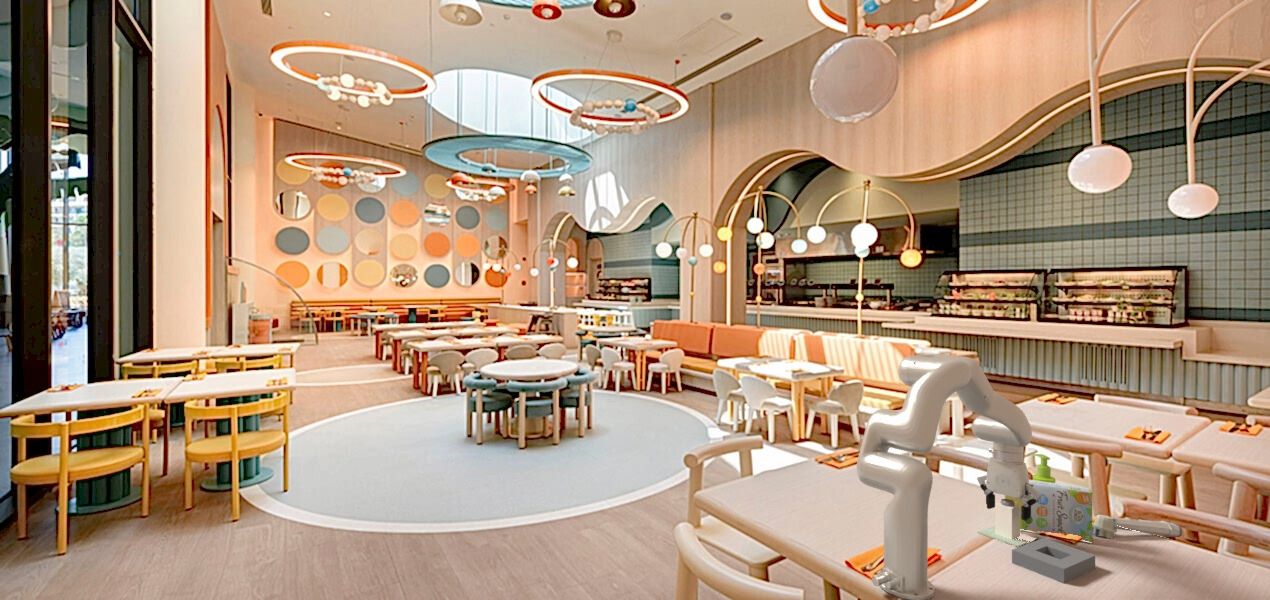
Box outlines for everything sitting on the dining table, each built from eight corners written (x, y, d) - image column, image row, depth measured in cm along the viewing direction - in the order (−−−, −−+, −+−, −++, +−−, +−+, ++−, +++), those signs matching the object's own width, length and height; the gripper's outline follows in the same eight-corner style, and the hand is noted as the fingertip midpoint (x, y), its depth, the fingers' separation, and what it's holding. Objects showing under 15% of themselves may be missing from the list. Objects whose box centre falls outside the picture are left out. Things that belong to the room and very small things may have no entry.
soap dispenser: (1045, 513, 182) (1045, 453, 182) (1059, 521, 175) (1059, 458, 175) (1026, 512, 183) (1026, 452, 183) (1039, 520, 176) (1040, 458, 176)
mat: (1017, 547, 157) (1017, 545, 157) (978, 532, 166) (978, 531, 166) (1038, 539, 162) (1038, 538, 162) (998, 526, 172) (998, 524, 172)
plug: (1011, 539, 161) (1011, 504, 161) (995, 533, 165) (995, 499, 165) (1020, 536, 163) (1020, 501, 163) (1003, 530, 167) (1003, 496, 167)
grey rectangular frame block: (1063, 583, 137) (1064, 569, 137) (1011, 562, 147) (1012, 549, 147) (1095, 568, 144) (1095, 555, 144) (1043, 550, 155) (1043, 537, 155)
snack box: (1089, 538, 164) (1089, 487, 164) (1092, 545, 159) (1092, 492, 159) (1003, 522, 175) (1003, 474, 175) (1004, 528, 170) (1004, 479, 170)
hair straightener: (1185, 526, 163) (1102, 515, 163) (1182, 549, 163) (1099, 537, 163) (1168, 519, 168) (1088, 508, 168) (1165, 541, 168) (1084, 530, 168)
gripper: (971, 450, 170) (971, 506, 170) (1033, 465, 155) (1033, 526, 155) (985, 447, 174) (985, 501, 174) (1047, 461, 158) (1047, 521, 158)
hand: (1007, 513), depth 164 cm, fingers open, 9 cm apart
